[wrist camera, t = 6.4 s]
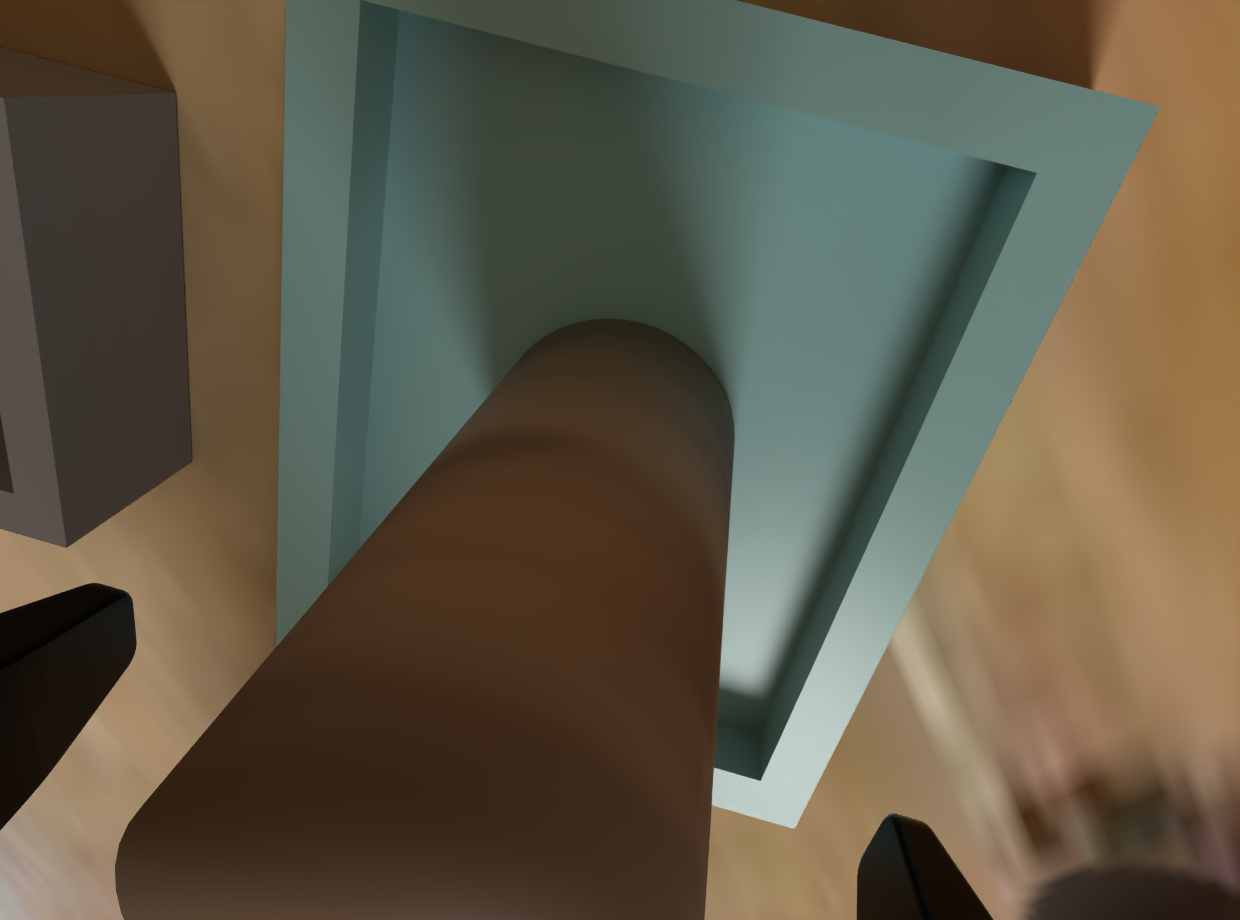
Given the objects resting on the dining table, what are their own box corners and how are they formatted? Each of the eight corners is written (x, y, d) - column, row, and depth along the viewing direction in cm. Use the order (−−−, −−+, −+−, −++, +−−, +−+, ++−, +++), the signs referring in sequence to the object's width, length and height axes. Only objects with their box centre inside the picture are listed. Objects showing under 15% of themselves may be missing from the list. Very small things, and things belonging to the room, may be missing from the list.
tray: (790, 747, 21) (794, 829, 18) (325, 614, 21) (274, 678, 19) (1092, 101, 13) (1160, 106, 11) (363, -82, 14) (287, -113, 11)
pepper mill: (697, 563, 17) (620, 1193, 8) (483, 502, 17) (136, 1040, 8) (767, 356, 15) (784, 881, 5) (518, 289, 15) (87, 673, 5)
